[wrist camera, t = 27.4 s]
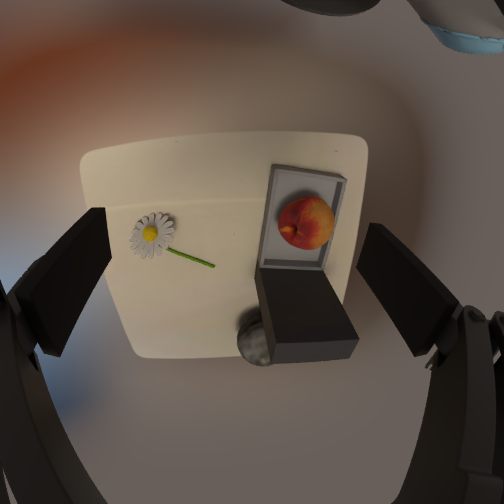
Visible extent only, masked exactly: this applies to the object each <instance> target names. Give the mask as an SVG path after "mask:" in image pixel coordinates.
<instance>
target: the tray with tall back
mask: <svg viewBox="0 0 504 504" xmlns="http://www.w3.org/2000/svg"><path fill="white" fill-rule="evenodd" d="M346 182H347V179H346V178H344V177H343V176H341V175H338V174H332V173H326V172H320V171H314V170H308V169H301V168H294V167H286V166H278V165H272V166H271V173H270V180H269V187H268V193H267V200H266V206H265V213H264V220H263V226H262V233H261V239H260V246H259V252H258V258H257V265H256V271H255V278H254V279H255V284H256V289H257V294H258V300H259V305H260V310H261V315H262V321H263V326H264V331H265V336H266V342H267V346H268V352H269V357H270V363H271V364H280V363H302V362H315V361H329V360H339V359H348V358H350V356H351V354H352V352H353V351H354V349H355V347H356V345H357V343H358V341H359V337H358V335H357V333H356V331H355V329H354V327H353V325H352V323H351V322H350V319H349V317H348V316H347V314H346V312H345V310H344V308H343V306H342V304H341V302H340V301H339V299H338V297H337V295H336V293H335V291H334V289H333V288H332V286H331V284H330V282H329V280H328V279H327V277H326V275H325V273H324V271H323V270H324V266H325V263H326V260H327V256H328V253H329V249H330V245H331V242H332V238H333V234H334V231H335V227H336V223H337V219H338V215H339V211H340V207H341V203H342V199H343V195H344V191H345V186H346ZM309 196H315V197H319V198H321V199H322V200H324V201H325V202H326V203H327V205H328V206H329V207H330V208H331V210H332V212H333V214H334V218H335V225H334V230H333V234H332V236H331V237H330V239H329V240H328V241H327V242H326V243H325V244H324V245H322V246H321V247H319V248H317V249H314V250H303V249H300V248H296V247H294V246H292V245H290V244H289V243H288V242H286V241H285V239H284V238H283V237H282V236H281V234H280V232H279V230H278V221H279V218H280V216H281V213H282V211H283V209H284V208H285V207H286V206H287V205H288V204H289V203H291V202H293V201H294V200H296V199H298V198H301V197H309Z"/></svg>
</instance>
